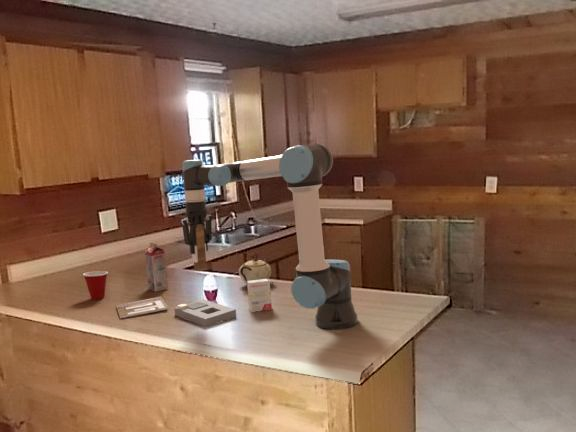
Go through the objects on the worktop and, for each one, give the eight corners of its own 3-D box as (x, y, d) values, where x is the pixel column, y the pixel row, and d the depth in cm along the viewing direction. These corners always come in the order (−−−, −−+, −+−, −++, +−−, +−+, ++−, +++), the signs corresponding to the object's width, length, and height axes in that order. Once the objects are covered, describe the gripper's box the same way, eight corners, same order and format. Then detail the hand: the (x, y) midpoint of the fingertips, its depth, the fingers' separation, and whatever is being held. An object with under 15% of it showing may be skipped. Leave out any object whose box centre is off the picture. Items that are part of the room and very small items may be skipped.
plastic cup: (115, 296, 261) (112, 270, 259) (96, 302, 252) (92, 276, 250) (100, 293, 267) (97, 268, 265) (80, 299, 258) (77, 274, 256)
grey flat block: (236, 317, 220) (235, 306, 219) (206, 326, 211) (205, 316, 210) (204, 306, 236) (203, 296, 235) (175, 315, 227) (174, 305, 226)
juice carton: (155, 291, 264) (150, 245, 261) (148, 289, 269) (143, 243, 266) (167, 288, 268) (163, 242, 265) (160, 286, 273) (156, 241, 270)
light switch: (161, 300, 250) (117, 309, 243) (160, 296, 249) (116, 304, 243) (168, 311, 233) (121, 321, 227) (167, 306, 233) (120, 316, 226)
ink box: (269, 306, 231) (267, 277, 229) (272, 309, 226) (270, 280, 224) (248, 308, 229) (246, 280, 227) (250, 312, 224) (248, 283, 223)
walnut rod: (206, 269, 220) (203, 223, 218) (199, 271, 218) (195, 225, 215) (201, 268, 223) (198, 222, 220) (194, 269, 221) (190, 224, 218)
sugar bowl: (257, 278, 276) (254, 248, 274) (281, 281, 268) (279, 250, 265) (229, 288, 261) (227, 256, 259) (255, 292, 252) (252, 259, 250)
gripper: (207, 197, 225) (211, 255, 228) (171, 202, 214) (176, 263, 217) (218, 198, 219) (223, 258, 223) (181, 204, 208) (187, 266, 212)
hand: (199, 260), depth 220 cm, fingers closed on walnut rod, 3 cm apart
